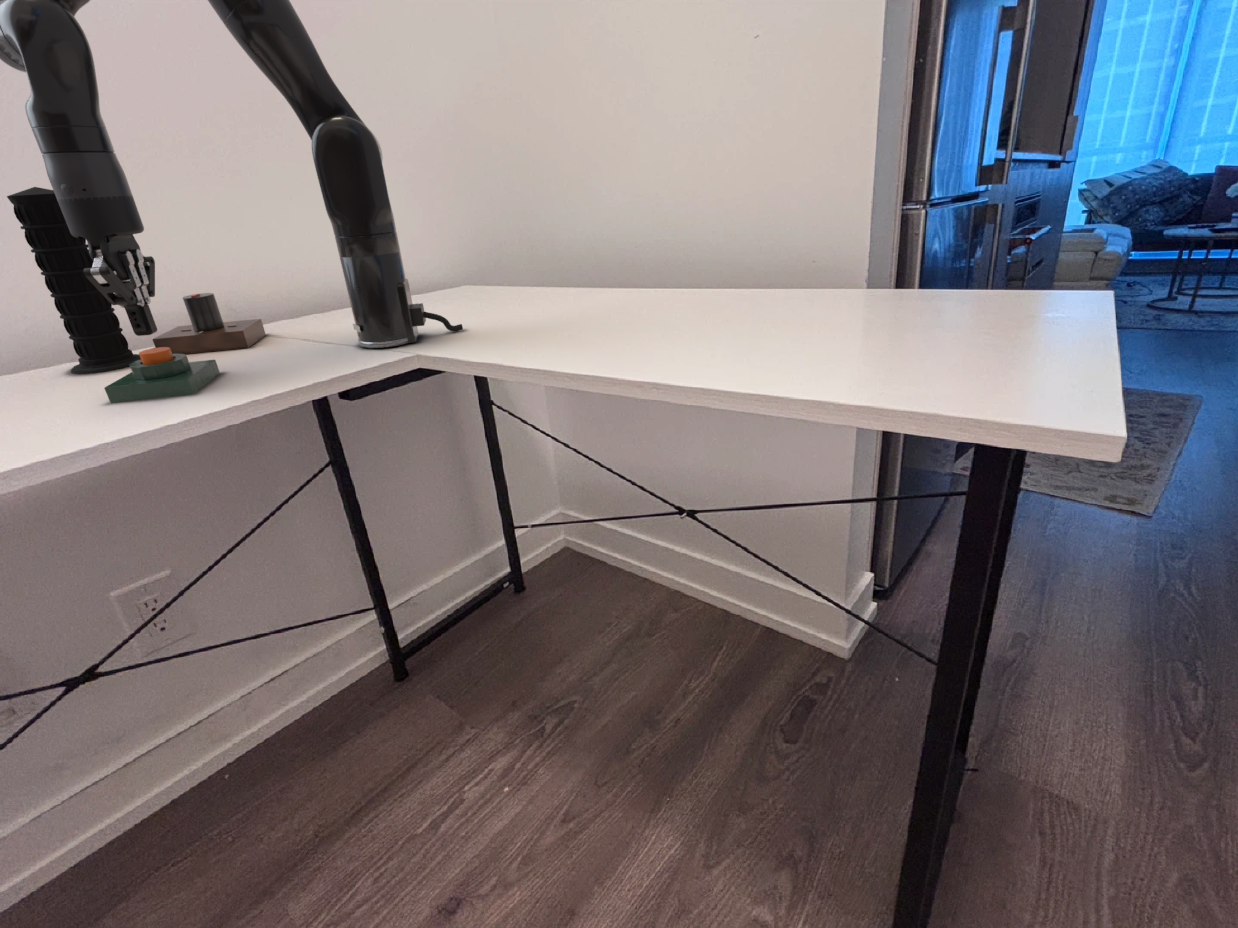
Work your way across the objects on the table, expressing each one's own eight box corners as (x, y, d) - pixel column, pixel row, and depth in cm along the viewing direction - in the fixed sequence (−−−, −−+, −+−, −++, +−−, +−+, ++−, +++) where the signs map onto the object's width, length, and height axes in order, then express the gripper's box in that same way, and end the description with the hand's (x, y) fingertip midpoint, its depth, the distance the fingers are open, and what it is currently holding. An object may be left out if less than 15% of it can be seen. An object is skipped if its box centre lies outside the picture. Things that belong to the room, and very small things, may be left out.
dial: (199, 326, 110) (188, 292, 107) (228, 323, 111) (217, 290, 108) (189, 332, 106) (177, 297, 103) (219, 329, 107) (207, 294, 104)
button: (179, 358, 87) (174, 345, 87) (167, 364, 84) (163, 352, 83) (150, 360, 87) (146, 348, 86) (138, 367, 84) (133, 355, 83)
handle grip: (54, 374, 97) (106, 375, 95) (-32, 190, 86) (25, 186, 84) (112, 356, 106) (161, 356, 104) (42, 187, 94) (95, 183, 92)
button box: (220, 373, 92) (211, 347, 91) (193, 394, 83) (182, 365, 82) (146, 381, 91) (135, 354, 89) (110, 403, 82) (98, 374, 80)
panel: (266, 334, 115) (260, 317, 114) (248, 348, 106) (242, 329, 105) (183, 342, 113) (177, 325, 112) (158, 356, 104) (151, 338, 103)
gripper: (99, 194, 71) (154, 343, 79) (153, 191, 83) (197, 321, 90) (25, 197, 70) (88, 348, 77) (90, 194, 82) (140, 326, 89)
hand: (147, 333), depth 84 cm, fingers closed
